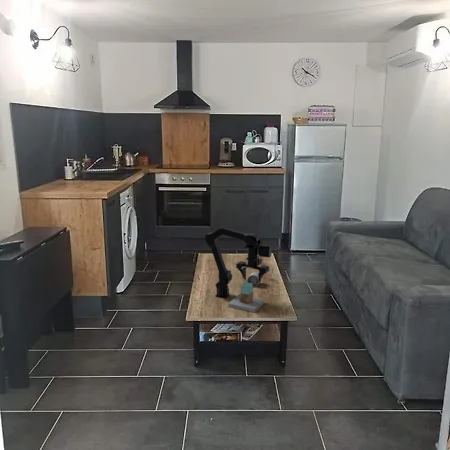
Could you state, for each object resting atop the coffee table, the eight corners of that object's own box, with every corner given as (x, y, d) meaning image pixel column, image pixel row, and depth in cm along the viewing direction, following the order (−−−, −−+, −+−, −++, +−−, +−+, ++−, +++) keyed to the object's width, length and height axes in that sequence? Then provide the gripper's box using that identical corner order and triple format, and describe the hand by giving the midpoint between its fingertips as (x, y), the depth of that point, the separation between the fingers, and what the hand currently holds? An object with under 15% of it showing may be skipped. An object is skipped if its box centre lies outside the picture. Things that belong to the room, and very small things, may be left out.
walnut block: (240, 302, 249) (240, 293, 247) (244, 298, 253) (244, 289, 252) (248, 304, 246) (249, 295, 245) (252, 300, 251) (253, 291, 250)
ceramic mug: (261, 282, 283) (261, 271, 281) (258, 287, 275) (258, 275, 273) (245, 281, 285) (245, 270, 283) (242, 285, 278) (242, 274, 276)
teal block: (240, 293, 247) (240, 284, 246) (244, 290, 252) (244, 281, 250) (248, 294, 245) (248, 286, 244) (252, 291, 249) (252, 283, 248)
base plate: (228, 306, 248) (228, 303, 247) (239, 297, 260) (239, 294, 259) (254, 312, 241) (254, 309, 240) (264, 302, 253) (264, 299, 252)
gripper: (273, 254, 252) (272, 279, 256) (244, 249, 261) (244, 274, 265) (265, 259, 243) (265, 286, 246) (235, 254, 251) (235, 280, 255)
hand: (252, 281), depth 253 cm, fingers open, 9 cm apart
